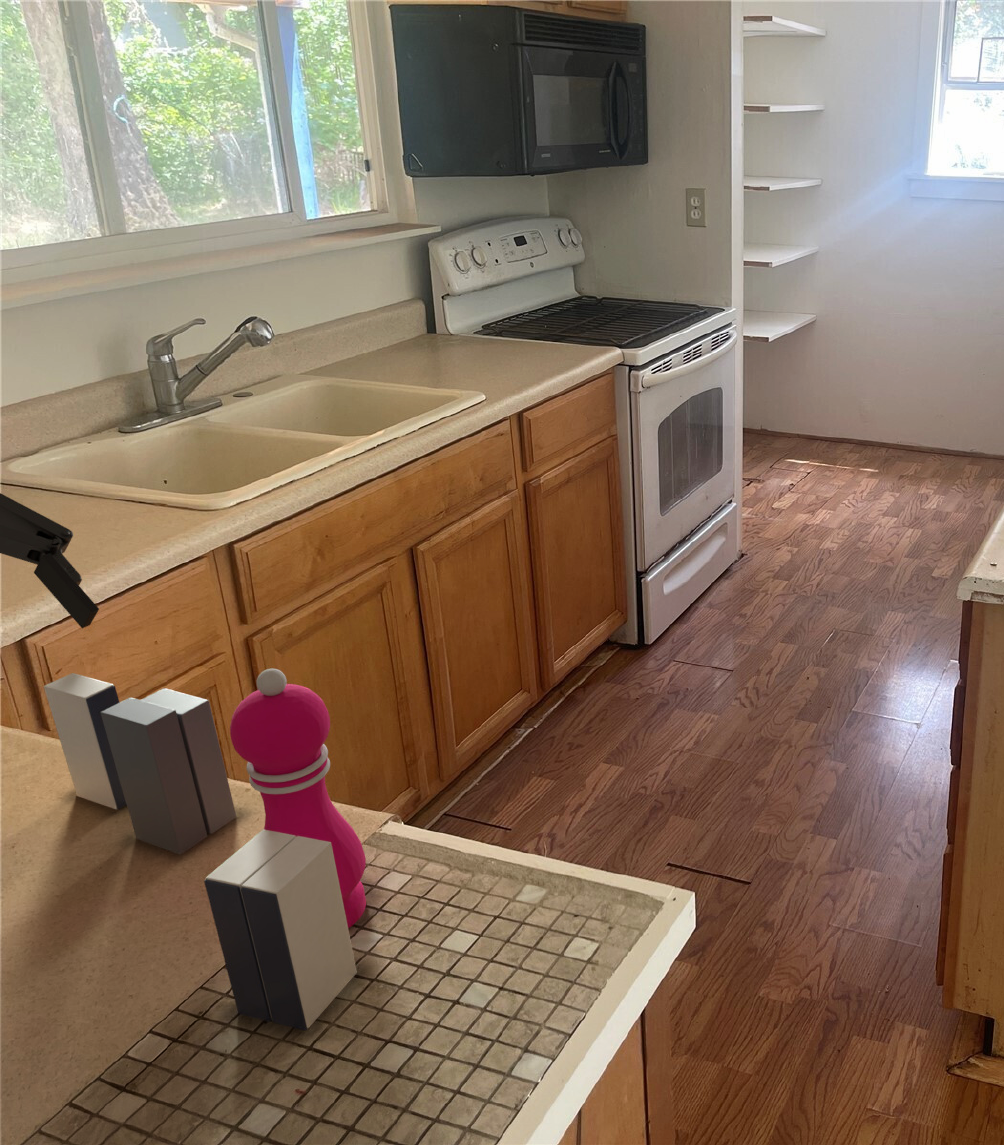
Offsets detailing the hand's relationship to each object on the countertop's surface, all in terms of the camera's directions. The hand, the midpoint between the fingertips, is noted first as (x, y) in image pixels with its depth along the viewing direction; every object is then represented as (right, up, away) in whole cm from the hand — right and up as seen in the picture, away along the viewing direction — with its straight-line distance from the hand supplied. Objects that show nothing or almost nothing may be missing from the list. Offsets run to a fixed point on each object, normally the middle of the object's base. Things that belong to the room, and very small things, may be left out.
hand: (14, 651), depth 88 cm
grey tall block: (+32, -21, -19) cm, 43 cm away
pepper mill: (+30, -18, -12) cm, 37 cm away
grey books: (+16, -14, -3) cm, 22 cm away
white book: (+7, -13, +2) cm, 15 cm away
